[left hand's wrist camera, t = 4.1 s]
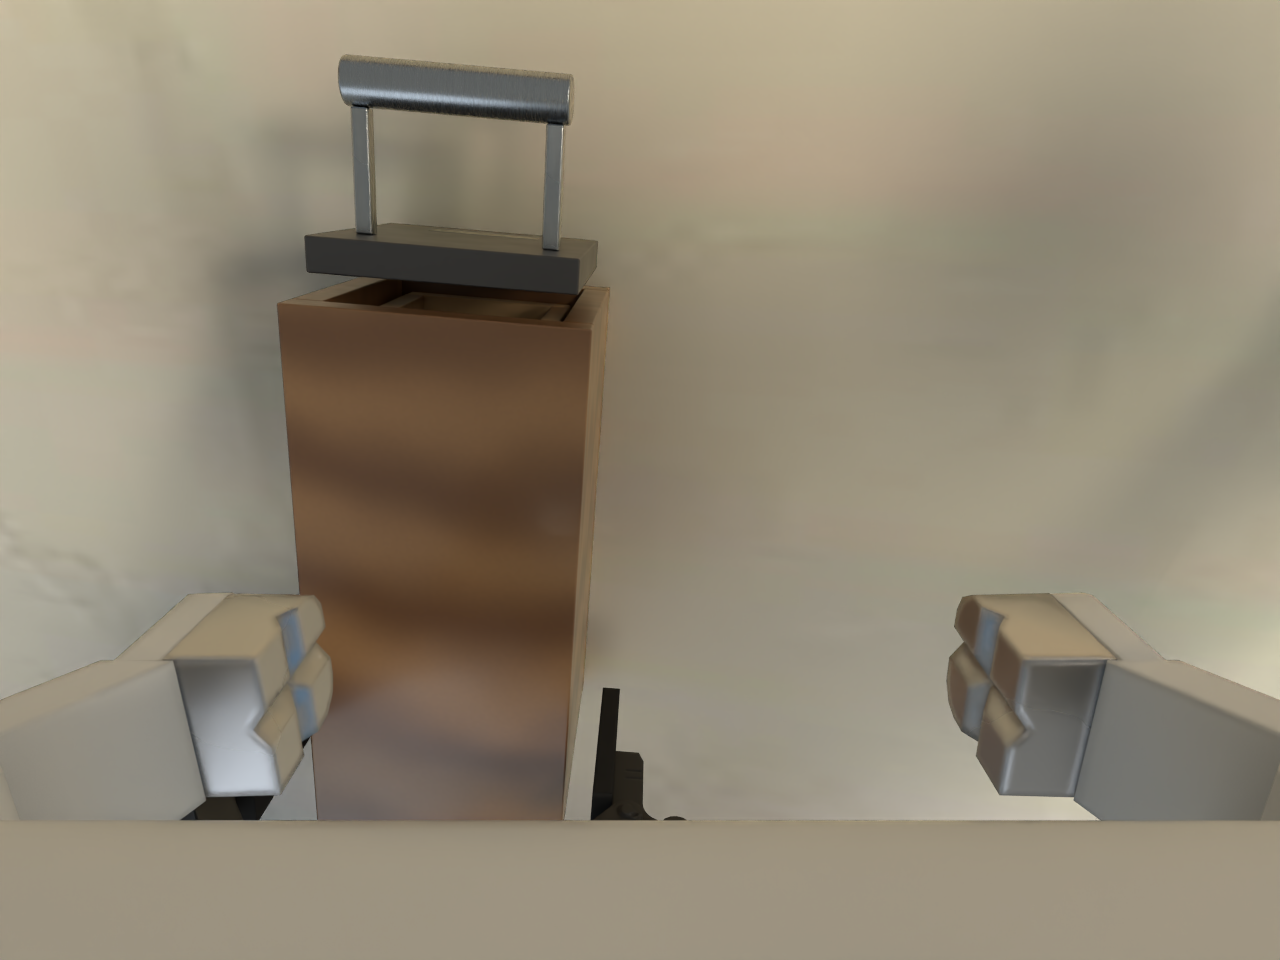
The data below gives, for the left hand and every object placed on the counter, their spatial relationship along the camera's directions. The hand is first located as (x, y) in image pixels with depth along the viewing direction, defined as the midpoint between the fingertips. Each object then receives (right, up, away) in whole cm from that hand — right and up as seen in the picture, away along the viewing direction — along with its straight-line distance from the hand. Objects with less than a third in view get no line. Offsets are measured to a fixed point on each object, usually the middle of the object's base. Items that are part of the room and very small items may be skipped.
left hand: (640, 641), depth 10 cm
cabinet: (-7, +1, +30) cm, 31 cm away
